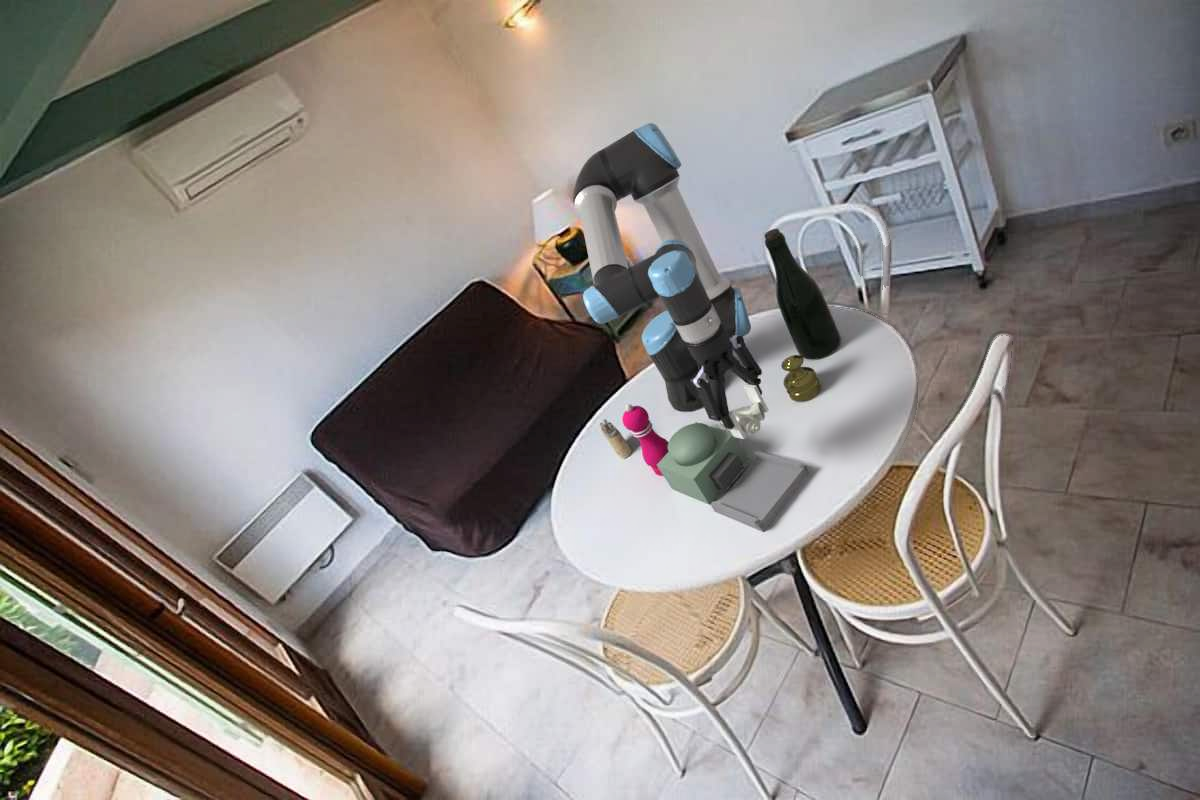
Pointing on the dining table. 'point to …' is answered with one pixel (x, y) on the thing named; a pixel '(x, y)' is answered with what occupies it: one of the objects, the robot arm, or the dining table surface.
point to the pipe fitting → (749, 418)
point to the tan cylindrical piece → (615, 439)
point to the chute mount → (762, 490)
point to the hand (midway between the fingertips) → (751, 423)
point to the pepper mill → (645, 436)
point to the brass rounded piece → (800, 379)
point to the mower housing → (702, 461)
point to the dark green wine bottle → (801, 302)
